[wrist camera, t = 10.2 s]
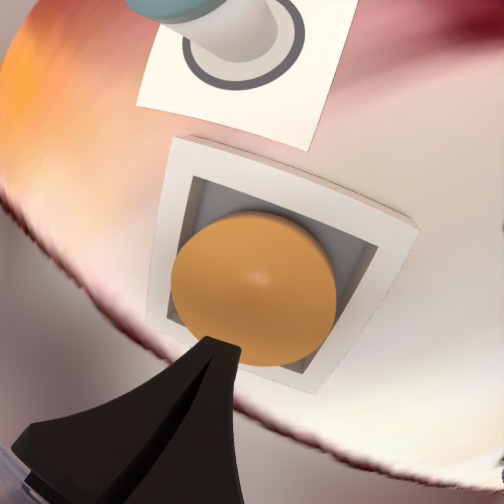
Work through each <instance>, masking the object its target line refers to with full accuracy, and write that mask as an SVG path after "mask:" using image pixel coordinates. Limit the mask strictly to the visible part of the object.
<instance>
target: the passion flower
mask: <svg viewBox="0 0 504 504" xmlns="http://www.w3.org/2000/svg"><path fill="white" fill-rule="evenodd" d="M501 463H502V465H503V466H504V459H502V460H501ZM501 474H502V479H503V483H504V469H503V470H502V473H501ZM501 494H502V495H504V490H502V491H501Z"/></svg>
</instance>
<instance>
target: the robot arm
mask: <svg viewBox="0 0 504 504" xmlns="http://www.w3.org/2000/svg"><path fill="white" fill-rule="evenodd" d="M241 351H242V349H241V348H240V346H237V345H234V344H231V343H227V342H224V341H221V340H218V339H215V338H212V337H209V336H204V337H203V338H202V339H201V340H200V341H199V342H198V343H197V344H195V345H194V346H193V347H192V348H191V349H190V350H189V351H187V352H186V353H185V354H184V355H183V356H181V357H180V358H179V359H178V360H176V361H175V362H174V363H172V364H171V365H170V366H168V367H167V368H166V369H164V370H163V371H162V372H160V373H159V374H157V375H156V376H154V377H153V378H151V379H150V380H148V381H147V382H145V383H143V384H142V385H140V386H138V387H137V388H135V389H133V390H131V391H130V392H128V393H126V394H124V395H122V396H120V397H118V398H116V399H113V400H111V401H109V402H107V403H104V404H103V405H100V406H97V407H95V408H92V409H89V410H86V411H83V412H80V413H76V414H73V415H70V416H66V417H63V418H58V419H53V420H48V421H42V422H36V423H32V424H30V425H29V426H28V427H27V428H26V429H25V430H24V431H23V433H22V434H21V435H20V436H19V437H18V439H17V440H16V441H15V442H14V444H13V445H12V446H11V450H12V452H14V454H15V455H16V456H17V457H18V458H19V459H20V460H21V461H22V462H23V463H24V464H25V465H26V466H27V467H28V468H29V469H30V470H31V471H30V470H29V469H28V468H27V467H26V466H25V465H24V464H22V462H20V461H19V460H18V459H17V458H16V457H15V456H14V455H13V454H12V452H10V450H9V449H8V448H6V446H5V445H4V444H3V443H2V442H1V441H0V504H46V503H47V504H244V500H243V495H242V491H241V486H240V481H239V476H238V470H237V464H236V456H235V447H234V437H233V436H234V435H233V390H234V381H235V378H236V373H237V369H238V365H239V360H240V356H241ZM30 490H31V491H33V492H34V493H35V494H36V495H37V496H38V497H39V498H41V499H42V500H43V501H44V502H43V501H42V500H40V499H39V498H37V497H36V496H34V495H33V494H31V493H30Z"/></svg>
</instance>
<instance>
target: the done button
mask: <svg viewBox="0 0 504 504" xmlns="http://www.w3.org/2000/svg"><path fill="white" fill-rule="evenodd" d="M171 293H172V298H173V302H174V305H175V308H176V310H177V312H178V314H179V316H180V318H181V320H182V321H183V323H184V324H185V326H186V327H187V328H188V330H189V331H190V332H191V333H192V334H193V335H194V336H195V337H196V338H197V339H198V340H199V341H200V340H201V339H202V338H203V337H204V336H209V337H212V338H215V339H218V340H221V341H224V342H227V343H231V344H234V345H237V346H240V348H241V349H242V351H241V356H240V360H239V363H242V364H246V365H252V366H261V367H270V366H280V365H285V364H289V363H293V362H295V361H298V360H300V359H302V358H304V357H306V356H308V355H309V354H310V353H312V352H313V351H315V350H316V349H317V348H318V347H319V346H320V345H321V344H322V343H323V341H324V340H325V339H326V337H327V336H328V334H329V332H330V330H331V328H332V326H333V323H334V320H335V314H336V280H335V274H334V270H333V267H332V264H331V262H330V260H329V258H328V256H327V254H326V252H325V251H324V249H323V248H322V246H321V245H320V244H319V243H318V241H317V240H316V239H315V238H314V237H313V236H312V235H311V234H309V233H308V232H307V231H306V230H305V229H303V228H302V227H300V226H299V225H297V224H295V223H294V222H292V221H290V220H288V219H285V218H283V217H280V216H277V215H274V214H270V213H265V212H256V211H246V212H237V213H232V214H228V215H225V216H223V217H220V218H218V219H216V220H215V221H213V222H211V223H210V224H208V225H207V226H206V227H204V228H203V229H202V230H201V231H200V232H198V233H197V234H196V235H195V236H193V237H192V238H191V239H190V240H188V241H187V243H186V244H185V245H184V246H183V247H182V248H181V250H180V252H179V253H178V255H177V257H176V259H175V262H174V264H173V268H172V272H171Z"/></svg>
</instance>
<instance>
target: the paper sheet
mask: <svg viewBox="0 0 504 504" xmlns="http://www.w3.org/2000/svg"><path fill="white" fill-rule="evenodd" d="M265 1H266V2H267V4H268V6H269V8H270V10H271V12H272V14H273V16H274V18H275V20H276V22H277V26H278V35H277V38H276V41H275V43H274V45H273V46H272V47H271V49H270V50H269V51H268V52H267V53H265V54H264V55H263V56H261V57H259V58H257V59H255V60H252V61H249V62H243V63H234V62H228V61H225V60H223V59H221V58H219V57H218V56H216V55H214V54H213V53H211V52H210V51H208V50H206V49H205V48H203V47H201V46H200V45H198V44H196V43H194V42H193V41H191V40H189V39H188V38H186V37H184V36H182V35H180V34H179V33H177V32H175V31H173V30H171V29H169V28H167V27H165V26H163V25H160V27H159V30H158V33H157V36H156V38H155V41H154V44H153V47H152V50H151V53H150V57H149V60H148V63H147V66H146V70H145V73H144V77H143V80H142V84H141V88H140V91H139V95H138V99H137V103H136V106H141V107H146V108H152V109H157V110H162V111H167V112H172V113H177V114H181V115H186V116H190V117H194V118H198V119H203V120H207V121H211V122H214V123H218V124H222V125H226V126H229V127H233V128H236V129H240V130H243V131H247V132H250V133H253V134H256V135H260V136H263V137H266V138H269V139H272V140H275V141H278V142H281V143H284V144H287V145H290V146H293V147H296V148H298V149H301V150H304V151H307V152H308V150H309V147H310V145H311V142H312V139H313V136H314V133H315V130H316V127H317V125H318V122H319V119H320V116H321V113H322V110H323V107H324V104H325V101H326V98H327V95H328V92H329V90H330V87H331V84H332V81H333V78H334V75H335V72H336V69H337V66H338V63H339V60H340V57H341V54H342V50H343V47H344V44H345V41H346V38H347V35H348V32H349V29H350V26H351V23H352V20H353V16H354V13H355V10H356V7H357V4H358V0H265Z"/></svg>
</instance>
